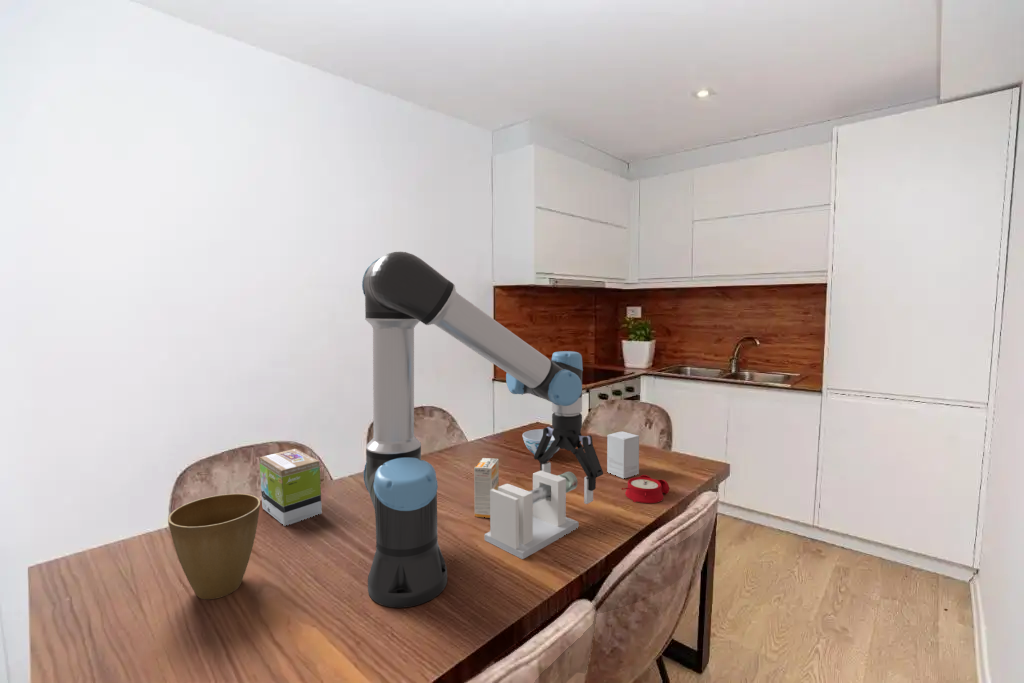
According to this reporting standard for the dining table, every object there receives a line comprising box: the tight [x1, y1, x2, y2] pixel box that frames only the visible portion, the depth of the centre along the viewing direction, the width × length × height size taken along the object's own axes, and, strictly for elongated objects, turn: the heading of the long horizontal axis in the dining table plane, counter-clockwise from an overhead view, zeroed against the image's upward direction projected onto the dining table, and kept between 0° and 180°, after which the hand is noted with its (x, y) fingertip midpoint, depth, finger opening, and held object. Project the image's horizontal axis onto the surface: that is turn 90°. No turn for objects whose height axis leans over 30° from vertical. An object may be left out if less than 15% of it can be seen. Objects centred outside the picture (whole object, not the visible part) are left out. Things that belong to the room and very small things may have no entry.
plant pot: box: [167, 493, 261, 600], centre depth 92 cm, size 15×15×16 cm
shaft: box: [528, 471, 579, 504], centre depth 115 cm, size 23×5×5 cm, turn 136°
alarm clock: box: [621, 474, 670, 504], centre depth 136 cm, size 10×6×15 cm
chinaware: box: [522, 428, 560, 458], centre depth 171 cm, size 15×15×8 cm
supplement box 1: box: [473, 457, 500, 519], centre depth 126 cm, size 8×5×13 cm, turn 168°
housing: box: [484, 470, 580, 560], centre depth 113 cm, size 20×12×12 cm, turn 136°
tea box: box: [258, 448, 323, 527], centre depth 126 cm, size 15×10×15 cm, turn 47°
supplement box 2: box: [606, 430, 640, 479], centre depth 153 cm, size 7×7×13 cm
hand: (566, 494), depth 122 cm, fingers open, 13 cm apart
